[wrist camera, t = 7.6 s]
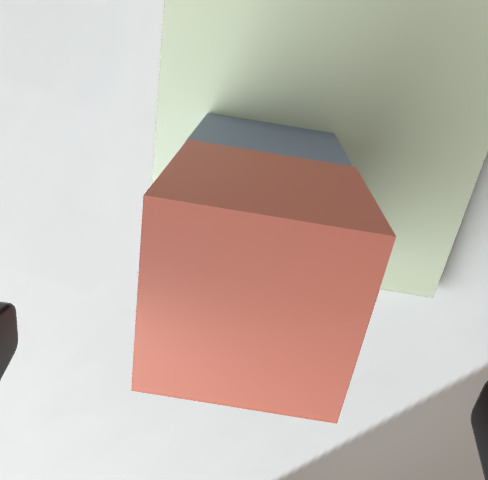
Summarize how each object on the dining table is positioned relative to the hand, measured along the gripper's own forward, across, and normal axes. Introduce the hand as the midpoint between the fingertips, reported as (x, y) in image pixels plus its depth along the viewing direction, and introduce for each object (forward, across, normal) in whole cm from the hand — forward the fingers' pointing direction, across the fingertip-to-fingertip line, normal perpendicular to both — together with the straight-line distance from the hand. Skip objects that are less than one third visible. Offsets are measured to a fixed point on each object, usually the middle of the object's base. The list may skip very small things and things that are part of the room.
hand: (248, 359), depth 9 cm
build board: (+12, -2, -4) cm, 13 cm away
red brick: (+6, 0, 0) cm, 6 cm away
